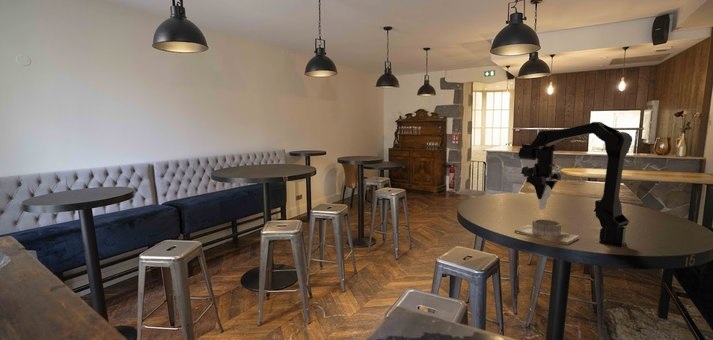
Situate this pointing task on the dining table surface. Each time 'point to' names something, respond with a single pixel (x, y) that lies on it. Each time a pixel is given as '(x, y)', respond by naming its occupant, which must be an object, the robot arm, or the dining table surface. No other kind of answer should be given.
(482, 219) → the dining table surface
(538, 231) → the lamp base
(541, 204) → the lightbulb
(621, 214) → the robot arm
